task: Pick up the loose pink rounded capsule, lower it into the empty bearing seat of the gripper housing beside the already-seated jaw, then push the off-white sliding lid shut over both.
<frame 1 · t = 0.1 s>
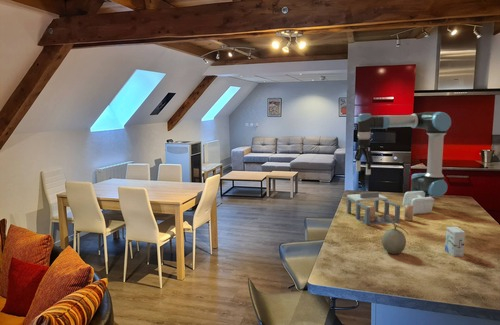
hand: (363, 172, 242), 28 cm above the kitchen island, fingers open, 13 cm apart
ink box: (454, 253, 182), on the kitchen island
housing: (377, 221, 234), on the kitchen island
pink rounded capsule: (408, 220, 236), on the kitchen island
fruit: (394, 253, 184), on the kitchen island
lid: (367, 194, 246), point 13 cm above the kitchen island, slide at 13.5 cm
cable organizer: (416, 210, 252), point 1 cm above the kitchen island, touching arm
seated jaw: (370, 220, 234), point 1 cm above the kitchen island, touching housing
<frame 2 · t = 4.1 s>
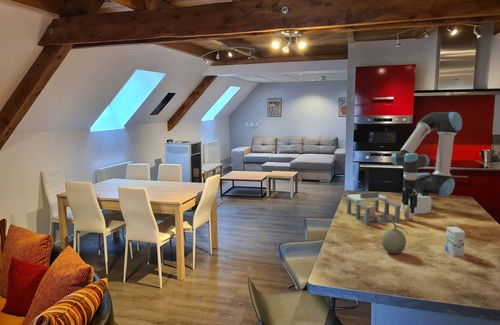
hand: (408, 216, 235), 2 cm above the kitchen island, fingers closed on pink rounded capsule, 5 cm apart
pink rounded capsule: (408, 220, 236), on the kitchen island, touching gripper
cable organizer: (415, 212, 253), on the kitchen island
everything else where it was.
when the fingers open (5 cm above the kitchen island, at t = 8.8 s): pink rounded capsule drops 2 cm, resting on housing.
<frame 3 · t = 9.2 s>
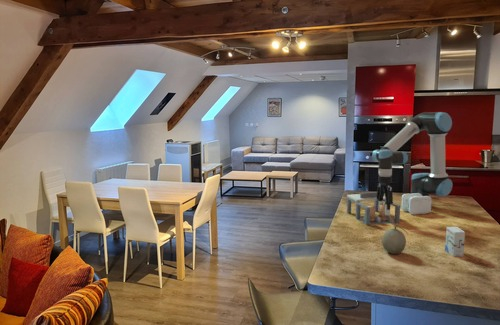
hand: (384, 213, 234), 5 cm above the kitchen island, fingers open, 7 cm apart
pink rounded capsule: (383, 220, 235), point 1 cm above the kitchen island, touching housing
lid: (367, 194, 246), point 13 cm above the kitchen island, slide at 13.6 cm, touching gripper, hand
everything else where it was.
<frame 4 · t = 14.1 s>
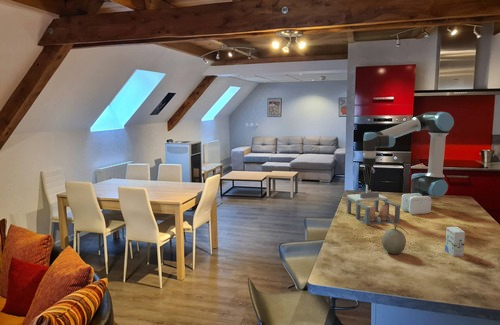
hand: (368, 194, 244), 14 cm above the kitchen island, fingers closed
lid: (367, 194, 246), point 13 cm above the kitchen island, slide at 13.5 cm, touching gripper
everything else where it was.
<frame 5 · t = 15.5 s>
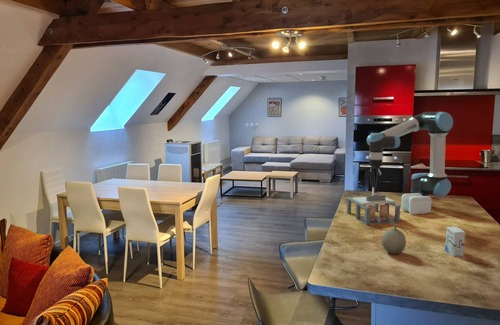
hand: (374, 197, 236), 14 cm above the kitchen island, fingers closed
lid: (373, 197, 238), point 13 cm above the kitchen island, slide at 5.4 cm, touching gripper
everything else where it was.
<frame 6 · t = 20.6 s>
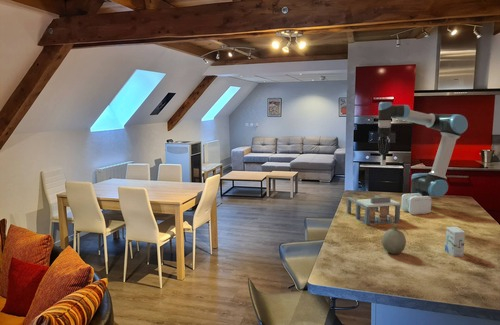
hand: (383, 164, 243), 32 cm above the kitchen island, fingers closed
lid: (378, 199, 232), point 13 cm above the kitchen island, slide at -0.3 cm
everything else where it was.
at the end: pink rounded capsule 0.1 cm from the target spot on the housing, point 0.6 cm above the housing's base; pink rounded capsule tilted 0°; lid slide at -0.3 cm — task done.
